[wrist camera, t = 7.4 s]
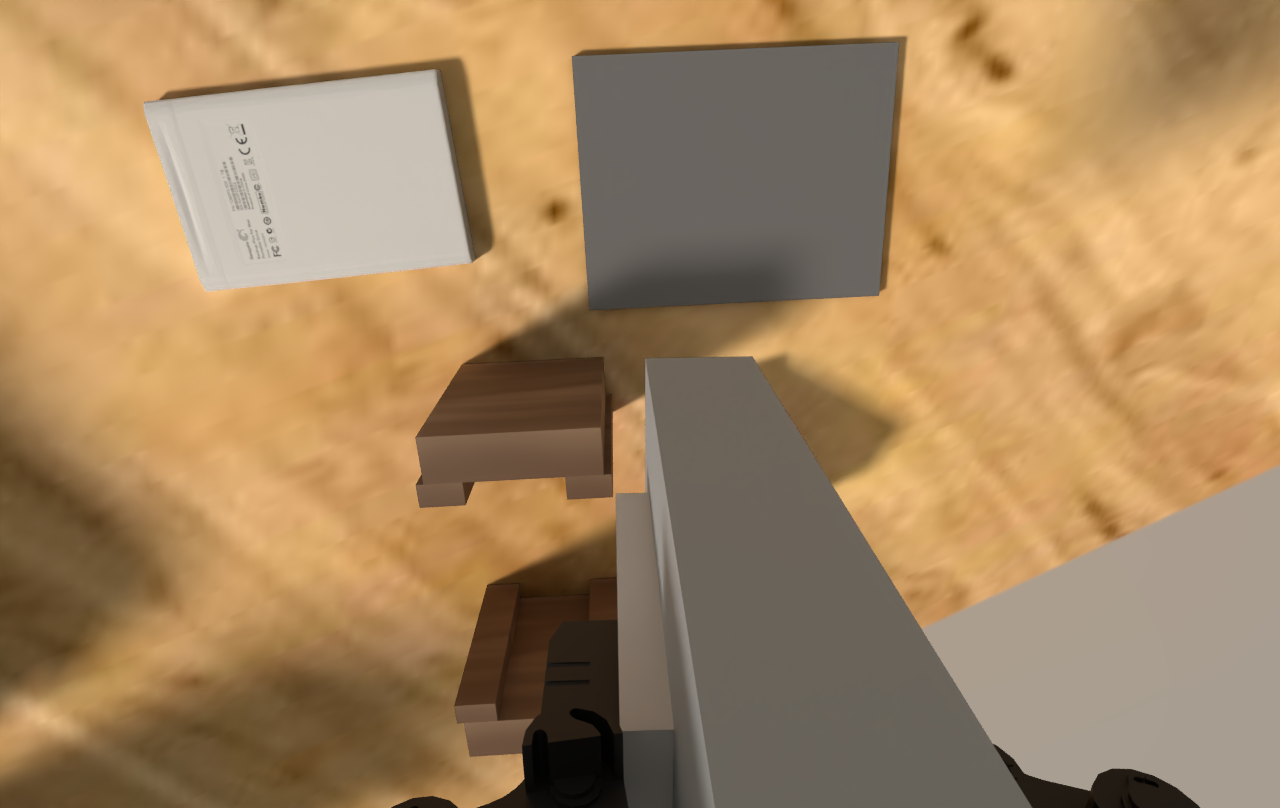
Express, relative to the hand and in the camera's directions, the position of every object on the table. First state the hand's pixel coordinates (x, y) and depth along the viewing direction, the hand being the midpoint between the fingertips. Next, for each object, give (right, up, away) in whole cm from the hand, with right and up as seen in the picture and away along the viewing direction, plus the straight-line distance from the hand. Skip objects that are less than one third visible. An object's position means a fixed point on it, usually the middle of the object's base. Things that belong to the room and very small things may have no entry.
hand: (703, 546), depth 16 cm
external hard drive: (-16, +13, +17) cm, 27 cm away
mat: (+3, +13, +17) cm, 22 cm away
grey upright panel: (0, +1, +1) cm, 2 cm away
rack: (-6, -2, +22) cm, 23 cm away
